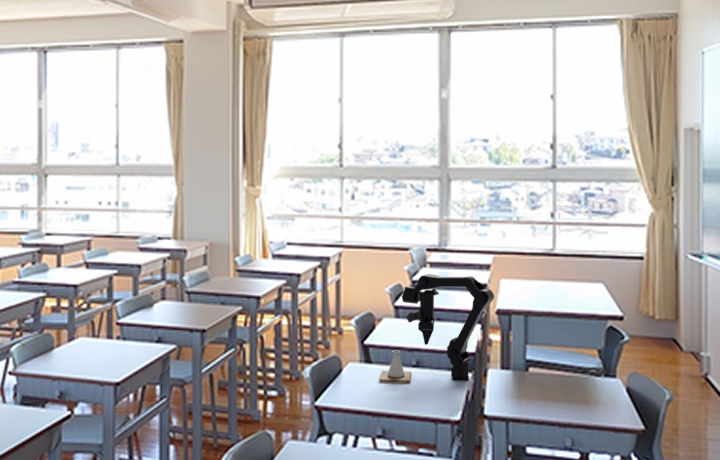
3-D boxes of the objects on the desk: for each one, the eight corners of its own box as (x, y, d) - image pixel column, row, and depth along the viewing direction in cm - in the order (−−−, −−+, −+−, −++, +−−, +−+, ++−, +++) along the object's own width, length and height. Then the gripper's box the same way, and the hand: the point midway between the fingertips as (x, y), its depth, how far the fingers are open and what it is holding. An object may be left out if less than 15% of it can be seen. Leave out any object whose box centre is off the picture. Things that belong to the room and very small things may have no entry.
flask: (384, 376, 261) (384, 352, 260) (390, 372, 268) (390, 348, 267) (401, 379, 258) (402, 354, 258) (407, 374, 265) (407, 349, 264)
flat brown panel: (411, 376, 268) (411, 371, 268) (409, 385, 256) (409, 380, 256) (382, 375, 270) (382, 370, 270) (379, 384, 258) (379, 379, 258)
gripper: (408, 300, 280) (408, 336, 281) (405, 308, 261) (405, 346, 262) (434, 301, 278) (434, 336, 279) (433, 309, 260) (433, 347, 261)
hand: (426, 341), depth 270 cm, fingers open, 9 cm apart
